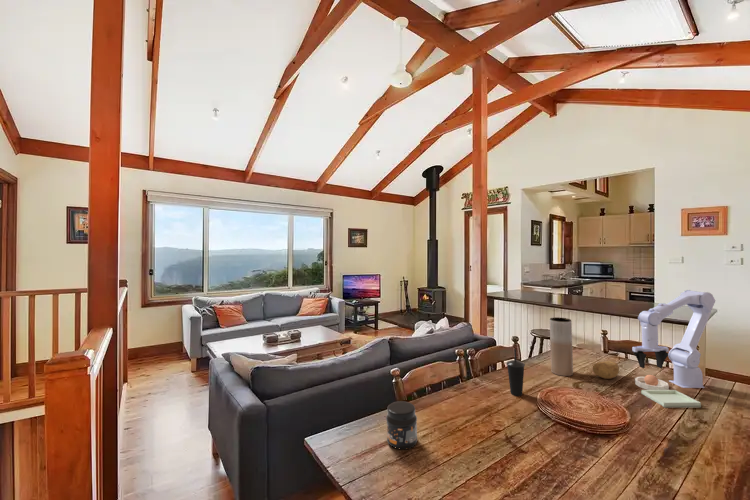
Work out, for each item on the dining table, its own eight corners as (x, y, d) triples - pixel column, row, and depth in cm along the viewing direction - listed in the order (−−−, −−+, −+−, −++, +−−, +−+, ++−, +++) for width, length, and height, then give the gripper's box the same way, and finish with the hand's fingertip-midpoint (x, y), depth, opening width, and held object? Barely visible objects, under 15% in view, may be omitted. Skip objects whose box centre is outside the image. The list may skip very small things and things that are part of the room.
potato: (625, 378, 162) (625, 362, 162) (608, 384, 156) (607, 367, 156) (605, 372, 171) (604, 356, 171) (587, 377, 165) (587, 361, 165)
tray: (675, 394, 143) (675, 389, 143) (700, 407, 131) (700, 402, 131) (641, 394, 144) (641, 389, 144) (663, 407, 132) (663, 402, 132)
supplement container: (382, 437, 117) (381, 403, 117) (409, 430, 121) (408, 398, 121) (394, 454, 107) (393, 417, 107) (423, 446, 111) (422, 410, 111)
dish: (654, 381, 157) (654, 376, 157) (675, 392, 145) (675, 386, 145) (629, 381, 158) (629, 376, 158) (647, 392, 146) (647, 386, 146)
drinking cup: (522, 390, 152) (521, 346, 152) (528, 397, 144) (527, 351, 144) (505, 390, 153) (503, 346, 153) (510, 397, 145) (508, 351, 145)
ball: (652, 383, 154) (652, 373, 154) (661, 388, 149) (661, 377, 149) (641, 383, 154) (641, 373, 154) (649, 388, 149) (649, 377, 149)
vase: (546, 370, 175) (545, 318, 175) (561, 368, 178) (559, 316, 178) (562, 377, 165) (560, 322, 165) (577, 374, 168) (576, 320, 168)
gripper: (639, 340, 148) (640, 370, 148) (673, 339, 147) (674, 370, 147) (628, 336, 155) (629, 365, 155) (661, 335, 154) (662, 364, 154)
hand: (650, 367), depth 151 cm, fingers open, 7 cm apart
